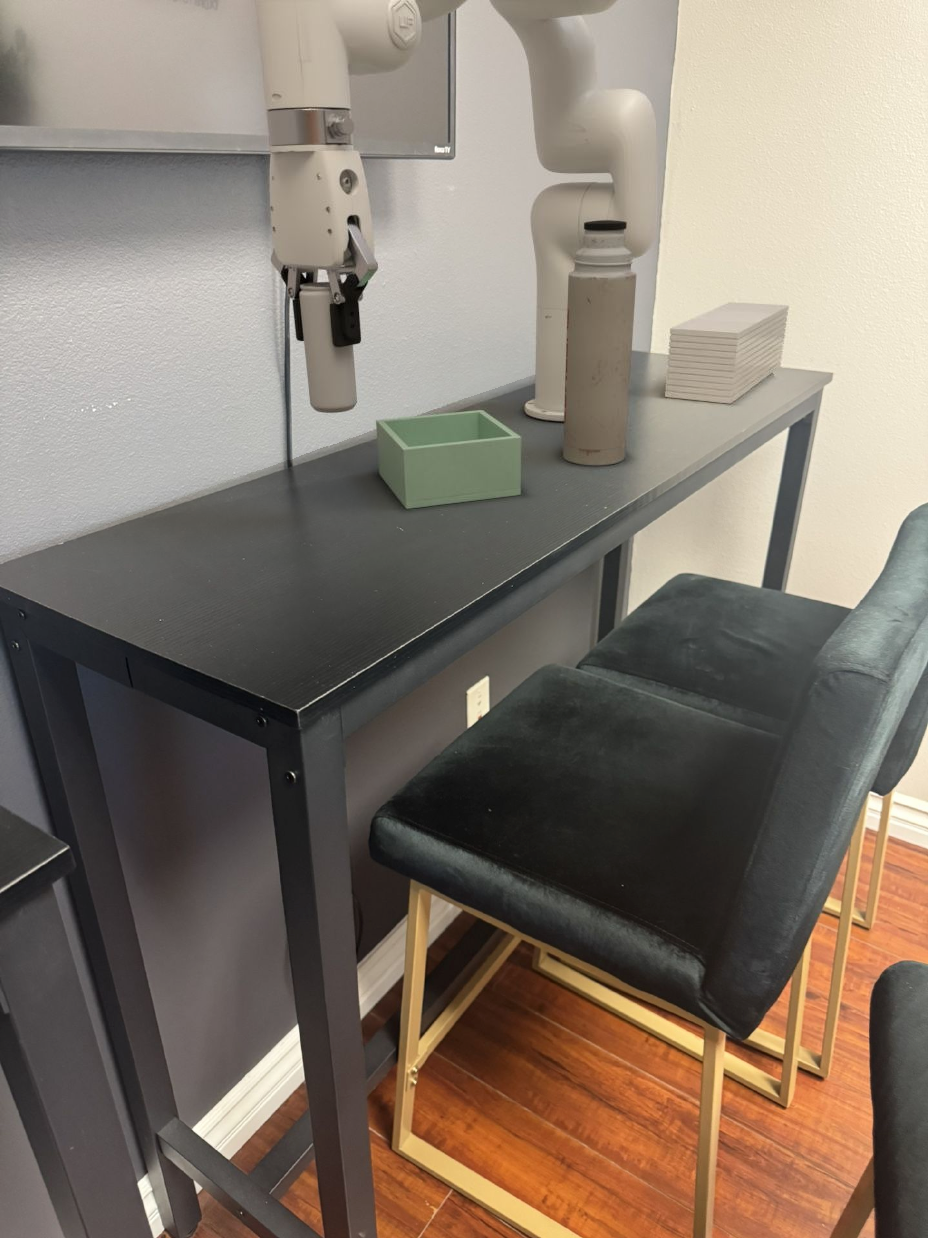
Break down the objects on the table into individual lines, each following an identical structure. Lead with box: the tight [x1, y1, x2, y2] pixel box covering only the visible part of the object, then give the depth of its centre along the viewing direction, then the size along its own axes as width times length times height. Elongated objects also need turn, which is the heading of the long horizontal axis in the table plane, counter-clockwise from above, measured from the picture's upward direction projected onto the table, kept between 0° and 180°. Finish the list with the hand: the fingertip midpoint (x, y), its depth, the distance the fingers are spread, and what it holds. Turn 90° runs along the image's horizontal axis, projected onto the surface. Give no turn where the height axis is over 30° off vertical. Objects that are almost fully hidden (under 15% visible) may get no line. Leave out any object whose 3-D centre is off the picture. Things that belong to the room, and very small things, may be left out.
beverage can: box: [300, 281, 358, 414], centre depth 89 cm, size 5×5×12 cm
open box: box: [375, 409, 522, 510], centre depth 106 cm, size 14×14×7 cm
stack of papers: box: [664, 301, 790, 404], centre depth 152 cm, size 32×11×11 cm, turn 149°
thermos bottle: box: [562, 220, 637, 467], centre depth 110 cm, size 8×8×28 cm
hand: (328, 339), depth 89 cm, fingers closed on beverage can, 4 cm apart
